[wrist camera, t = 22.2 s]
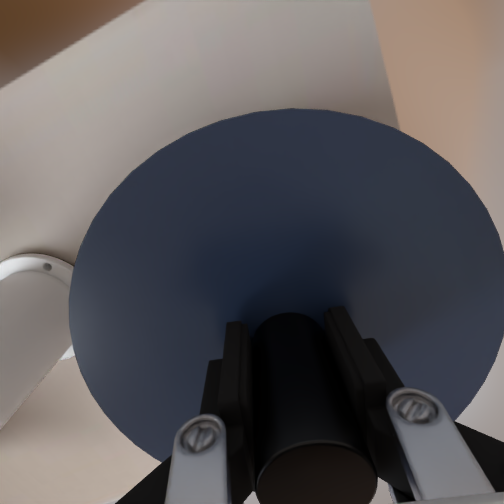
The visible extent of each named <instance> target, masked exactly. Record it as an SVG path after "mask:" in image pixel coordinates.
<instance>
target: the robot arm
mask: <svg viewBox="0 0 504 504" xmlns="http://www.w3.org/2000/svg"><path fill="white" fill-rule="evenodd" d="M73 269H74V267H73V266H72V265H70V264H69V263H67V262H64V261H62V260H60V259H58V258H55V257H51V256H48V255H44V254H34V253H30V254H20V255H16V256H12V257H9V258H7V259H5V260H3V261H1V262H0V430H1V429H2V427H3V426H4V425H5V424H6V423H7V421H8V420H9V419H10V418H11V417H12V415H13V414H14V413H15V412H16V411H17V409H18V408H19V407H20V406H21V405H22V404H23V402H24V401H25V400H26V399H27V398H28V396H29V395H30V394H31V393H32V392H33V390H34V389H35V388H36V387H37V386H38V384H39V383H40V382H41V381H42V380H43V379H44V377H45V376H46V375H47V374H48V373H49V371H50V370H51V369H52V368H53V367H54V365H55V364H56V363H57V362H58V361H59V360H64V359H68V358H72V357H74V356H75V353H74V350H73V345H72V340H71V334H70V328H69V293H70V286H71V279H72V272H73ZM324 324H325V334H326V340H327V343H328V345H329V348H330V350H331V353H332V356H333V358H334V361H335V364H336V366H337V369H338V371H339V374H340V377H341V379H342V382H343V384H344V387H345V390H346V392H347V395H348V397H349V400H350V403H351V405H352V408H353V410H354V413H355V416H356V418H357V421H358V423H359V426H360V429H361V431H362V434H363V436H364V439H365V442H366V444H367V447H368V449H369V452H370V455H371V457H372V460H373V463H374V465H375V468H376V471H377V476H378V477H379V478H381V479H382V480H384V481H385V482H387V483H388V486H389V491H390V495H391V498H392V501H393V504H504V442H501V441H499V440H496V439H495V438H492V437H490V436H488V435H485V434H483V433H481V432H478V431H476V430H474V429H471V428H469V427H467V426H464V425H462V424H460V423H457V422H455V421H453V420H452V419H451V417H450V416H449V414H448V413H447V411H446V409H445V408H444V406H443V404H442V403H441V402H440V401H439V400H438V398H436V397H435V396H434V395H432V394H431V393H429V392H427V391H425V390H422V389H419V388H414V387H405V386H404V384H403V383H402V381H401V379H400V378H399V376H398V375H397V373H396V371H395V370H394V368H393V367H392V365H391V363H390V362H389V360H388V359H387V357H386V355H385V354H384V352H383V351H382V349H381V347H380V346H379V344H378V343H377V341H376V340H375V338H367V339H362V337H361V335H360V333H359V332H358V330H357V328H356V326H355V325H354V323H353V321H352V319H351V317H350V316H349V314H348V312H347V310H346V308H345V307H344V306H338V307H331V308H329V309H328V312H324ZM252 491H255V472H254V409H253V358H252V345H251V340H250V334H249V329H248V324H242V321H241V320H240V321H234V322H227V324H226V333H225V341H224V350H223V359H216V360H210V361H209V363H208V368H207V374H206V379H205V385H204V391H203V396H202V402H201V408H200V413H199V415H196V416H193V417H192V418H190V419H188V420H187V421H186V422H185V423H184V424H182V425H181V427H180V428H179V430H178V431H177V433H176V436H175V439H174V445H173V452H172V455H170V456H169V457H168V458H167V459H166V460H165V461H164V462H162V463H161V464H160V465H159V466H158V467H157V468H155V469H154V470H153V471H152V472H151V473H150V474H149V475H147V476H146V477H145V478H144V479H143V480H142V481H141V482H139V483H138V484H137V485H136V486H135V487H134V488H133V489H131V490H130V491H129V492H128V493H127V494H126V495H124V496H123V497H122V498H121V499H120V500H119V501H118V502H117V503H115V504H244V501H245V500H246V499H247V497H248V496H249V495H250V494H251V492H252Z"/></svg>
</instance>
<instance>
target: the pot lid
mask: <svg viewBox="0 0 504 504" xmlns="http://www.w3.org/2000/svg"><path fill="white" fill-rule="evenodd" d="M338 306H344V307H345V308H346V310H347V312H348V314H349V316H350V317H351V319H352V321H353V323H354V325H355V326H356V328H357V330H358V332H359V333H360V335H361V337H362V339H367V338H375V340H376V341H377V343H378V344H379V346H380V347H381V349H382V351H383V352H384V354H385V355H386V357H387V359H388V360H389V362H390V363H391V365H392V367H393V368H394V370H395V371H396V373H397V375H398V376H399V378H400V379H401V381H402V383H403V384H404V386H405V387H414V388H419V389H422V390H425V391H427V392H429V393H431V394H432V395H434V396H435V397H436V398H438V400H439V401H440V402H441V403H442V404H443V406H444V408H445V409H446V411H447V413H448V414H449V416H450V417H451V419H452V420H453V421H455V420H456V419H457V418H458V417H459V415H460V414H461V413H462V412H463V411H464V410H465V408H466V407H467V406H468V405H469V404H470V403H471V401H472V400H473V398H474V397H475V395H476V394H477V392H478V391H479V389H480V388H481V386H482V385H483V383H484V382H485V380H486V378H487V376H488V374H489V372H490V370H491V368H492V366H493V364H494V362H495V359H496V357H497V354H498V351H499V348H500V345H501V342H502V339H503V336H504V251H503V248H502V244H501V240H500V237H499V234H498V232H497V229H496V227H495V225H494V223H493V221H492V219H491V217H490V215H489V213H488V210H487V208H486V207H485V206H484V204H483V203H482V201H481V200H480V198H479V197H478V195H477V194H476V193H475V191H474V190H473V188H472V187H471V185H470V184H469V183H468V182H467V181H466V180H465V179H464V178H463V177H462V176H461V175H460V174H459V173H458V171H457V170H456V169H454V167H452V165H451V164H450V163H449V162H448V161H446V160H445V159H444V158H442V157H441V156H439V155H438V154H437V153H435V152H434V151H433V150H432V149H430V148H429V147H428V146H426V145H425V144H423V143H422V142H420V141H418V140H416V139H414V138H412V137H410V136H409V135H407V134H405V133H403V132H401V131H399V130H397V129H395V128H393V127H390V126H387V125H385V124H382V123H379V122H376V121H373V120H370V119H368V118H365V117H362V116H356V115H351V114H346V113H341V112H336V111H330V110H318V109H295V108H290V109H280V110H269V111H259V112H253V113H249V114H245V115H241V116H237V117H232V118H228V119H224V120H220V121H218V122H215V123H213V124H210V125H208V126H205V127H203V128H200V129H198V130H195V131H193V132H190V133H188V134H186V135H185V136H183V137H181V138H179V139H178V140H176V141H174V142H172V143H171V144H169V145H167V146H165V147H164V148H162V149H160V150H159V151H157V152H156V153H155V154H153V155H152V156H151V157H150V158H148V159H147V160H146V161H145V162H143V163H142V164H141V165H139V166H138V167H137V168H136V169H134V170H133V171H132V172H131V173H130V174H129V175H128V176H127V177H126V178H125V179H124V180H123V182H122V183H121V184H120V185H119V186H118V187H117V188H116V189H115V190H114V191H113V192H112V193H111V194H110V196H109V197H108V199H107V200H106V202H105V203H104V204H103V206H102V207H101V209H100V210H99V212H98V213H97V215H96V216H95V217H94V219H93V221H92V223H91V225H90V227H89V229H88V231H87V233H86V235H85V237H84V239H83V241H82V244H81V246H80V249H79V252H78V255H77V259H76V262H75V265H74V269H73V272H72V279H71V286H70V293H69V328H70V334H71V340H72V345H73V350H74V353H75V357H76V360H77V363H78V366H79V369H80V372H81V374H82V376H83V378H84V380H85V382H86V384H87V386H88V388H89V390H90V392H91V394H92V396H93V397H94V399H95V400H96V402H97V403H98V405H99V406H100V408H101V409H102V410H103V412H104V413H105V414H106V416H107V417H108V418H109V419H110V420H111V421H112V422H113V424H114V425H115V426H116V427H117V428H118V429H119V430H120V431H121V432H122V433H123V434H124V435H125V436H126V437H127V438H129V439H130V440H131V441H132V442H133V443H134V444H135V445H136V446H138V447H139V448H141V449H142V450H143V451H145V452H146V453H148V454H149V455H151V456H152V457H153V458H155V459H157V460H158V461H160V462H164V461H165V460H166V459H167V458H168V457H169V456H170V455H172V452H173V445H174V439H175V436H176V433H177V431H178V430H179V428H180V427H181V425H182V424H184V423H185V422H186V421H187V420H188V419H190V418H192V417H193V416H196V415H199V413H200V408H201V402H202V396H203V391H204V385H205V379H206V374H207V368H208V363H209V361H210V360H216V359H223V350H224V341H225V333H226V324H227V322H234V321H240V320H241V321H242V324H248V329H249V334H250V340H251V345H252V358H253V409H254V472H255V491H254V492H255V493H256V496H257V499H258V501H259V503H260V504H369V503H370V502H371V501H372V499H373V497H374V495H375V493H376V489H377V482H378V476H377V471H376V468H375V465H374V463H373V460H372V457H371V455H370V452H369V449H368V447H367V444H366V442H365V439H364V436H363V434H362V431H361V429H360V426H359V423H358V421H357V418H356V416H355V413H354V410H353V408H352V405H351V403H350V400H349V397H348V395H347V392H346V390H345V387H344V384H343V382H342V379H341V377H340V374H339V371H338V369H337V366H336V364H335V361H334V358H333V356H332V353H331V350H330V348H329V345H328V343H327V340H326V334H325V324H324V312H328V309H329V308H331V307H338Z"/></svg>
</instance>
